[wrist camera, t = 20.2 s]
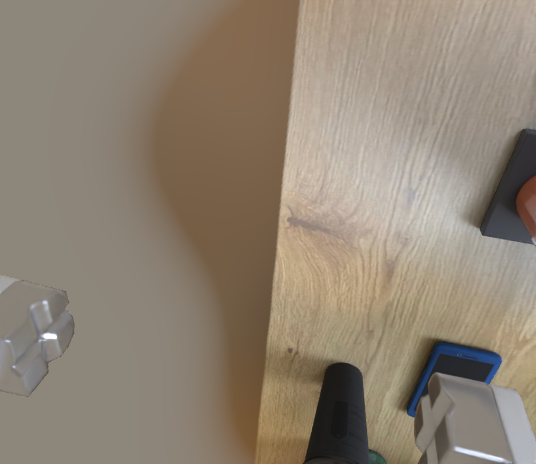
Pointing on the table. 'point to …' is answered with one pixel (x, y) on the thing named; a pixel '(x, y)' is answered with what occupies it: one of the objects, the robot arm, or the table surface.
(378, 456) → the coffee jar
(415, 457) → the table surface
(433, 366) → the cell phone
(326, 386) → the drinking cup
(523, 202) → the cup
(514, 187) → the coffee maker
